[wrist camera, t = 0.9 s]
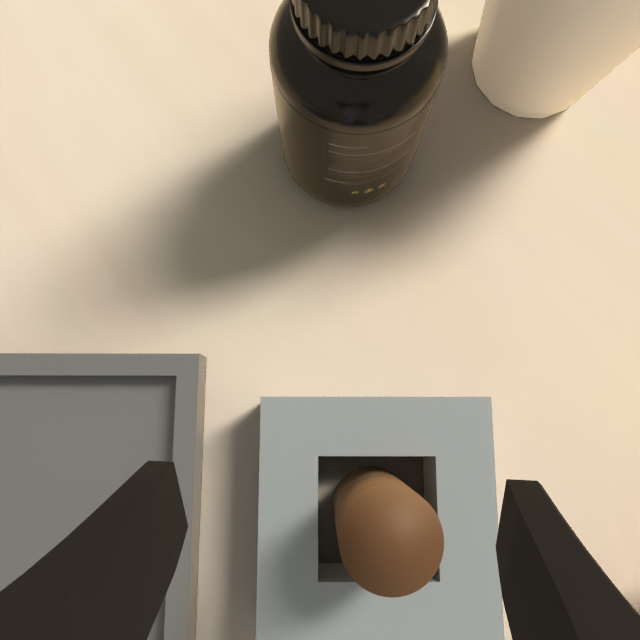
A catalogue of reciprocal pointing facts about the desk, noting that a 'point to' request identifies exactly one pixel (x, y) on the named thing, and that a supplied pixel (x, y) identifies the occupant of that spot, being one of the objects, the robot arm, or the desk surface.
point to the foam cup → (550, 50)
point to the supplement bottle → (354, 91)
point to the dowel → (386, 533)
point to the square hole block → (439, 491)
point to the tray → (97, 453)
